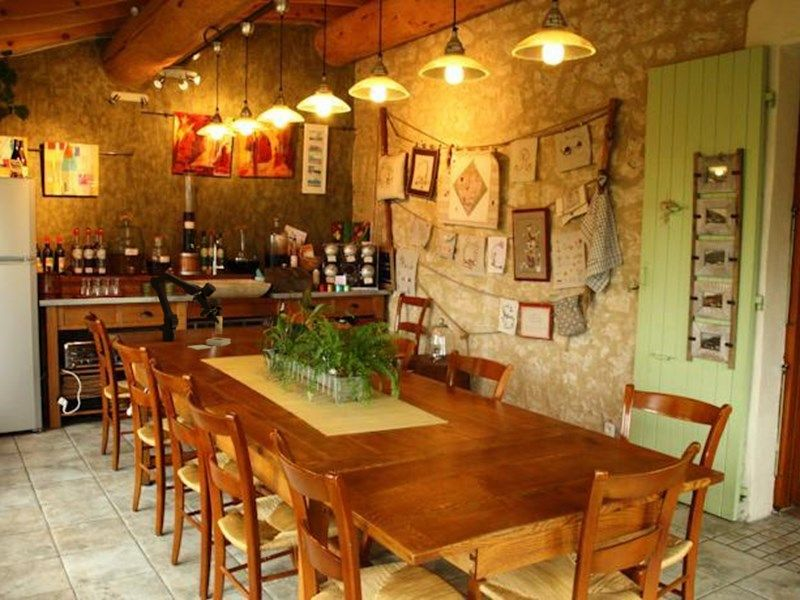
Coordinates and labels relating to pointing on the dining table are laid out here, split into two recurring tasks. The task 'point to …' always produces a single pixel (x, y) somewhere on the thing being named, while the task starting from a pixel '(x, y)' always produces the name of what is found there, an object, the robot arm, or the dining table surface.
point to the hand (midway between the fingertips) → (220, 322)
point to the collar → (218, 341)
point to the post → (218, 325)
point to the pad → (199, 347)
